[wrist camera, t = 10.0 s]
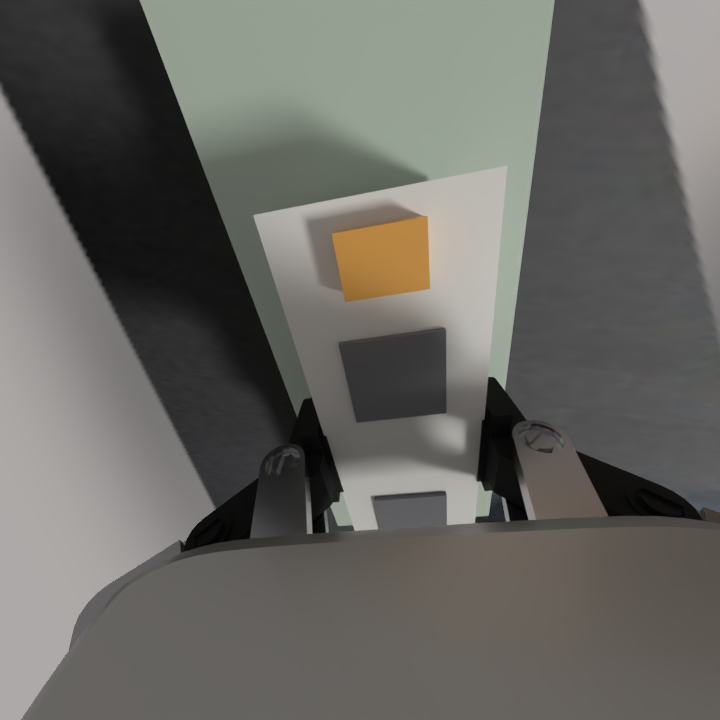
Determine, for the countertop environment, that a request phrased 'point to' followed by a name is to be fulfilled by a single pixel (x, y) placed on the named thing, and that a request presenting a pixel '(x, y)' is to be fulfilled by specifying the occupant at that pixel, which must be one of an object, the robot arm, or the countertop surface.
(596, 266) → the countertop surface
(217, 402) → the countertop surface
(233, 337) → the countertop surface
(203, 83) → the keyhole board
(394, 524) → the power strip
